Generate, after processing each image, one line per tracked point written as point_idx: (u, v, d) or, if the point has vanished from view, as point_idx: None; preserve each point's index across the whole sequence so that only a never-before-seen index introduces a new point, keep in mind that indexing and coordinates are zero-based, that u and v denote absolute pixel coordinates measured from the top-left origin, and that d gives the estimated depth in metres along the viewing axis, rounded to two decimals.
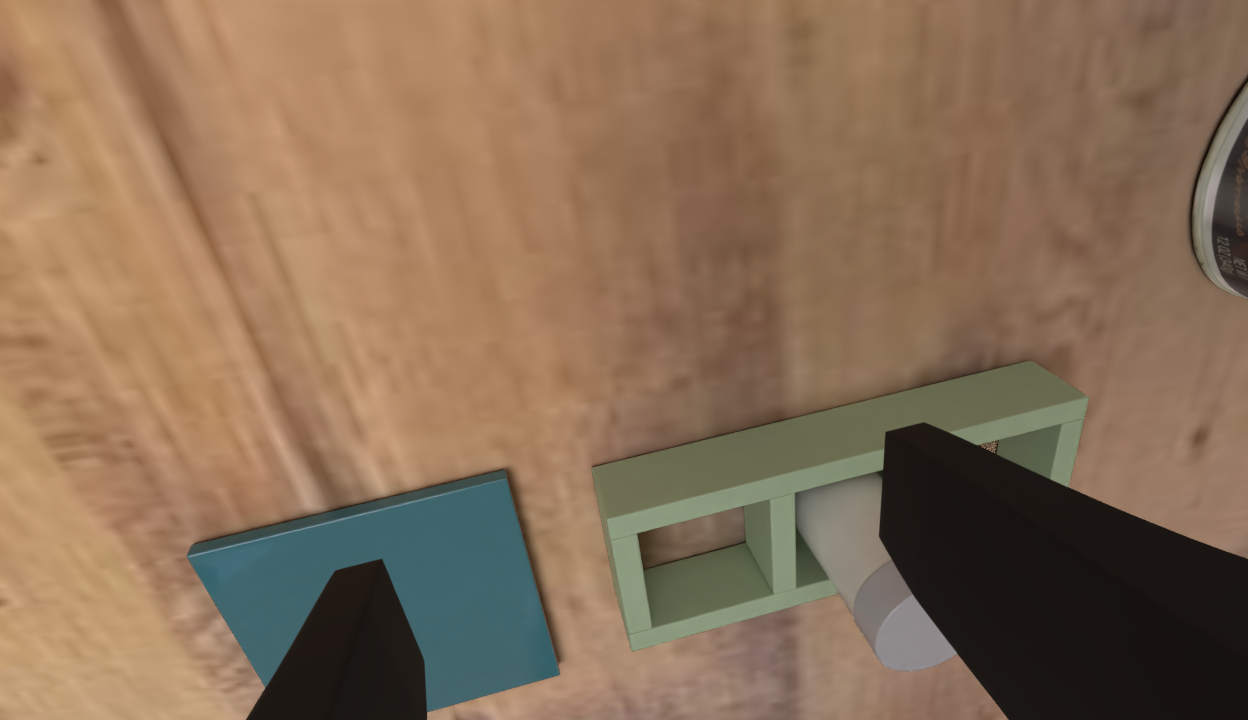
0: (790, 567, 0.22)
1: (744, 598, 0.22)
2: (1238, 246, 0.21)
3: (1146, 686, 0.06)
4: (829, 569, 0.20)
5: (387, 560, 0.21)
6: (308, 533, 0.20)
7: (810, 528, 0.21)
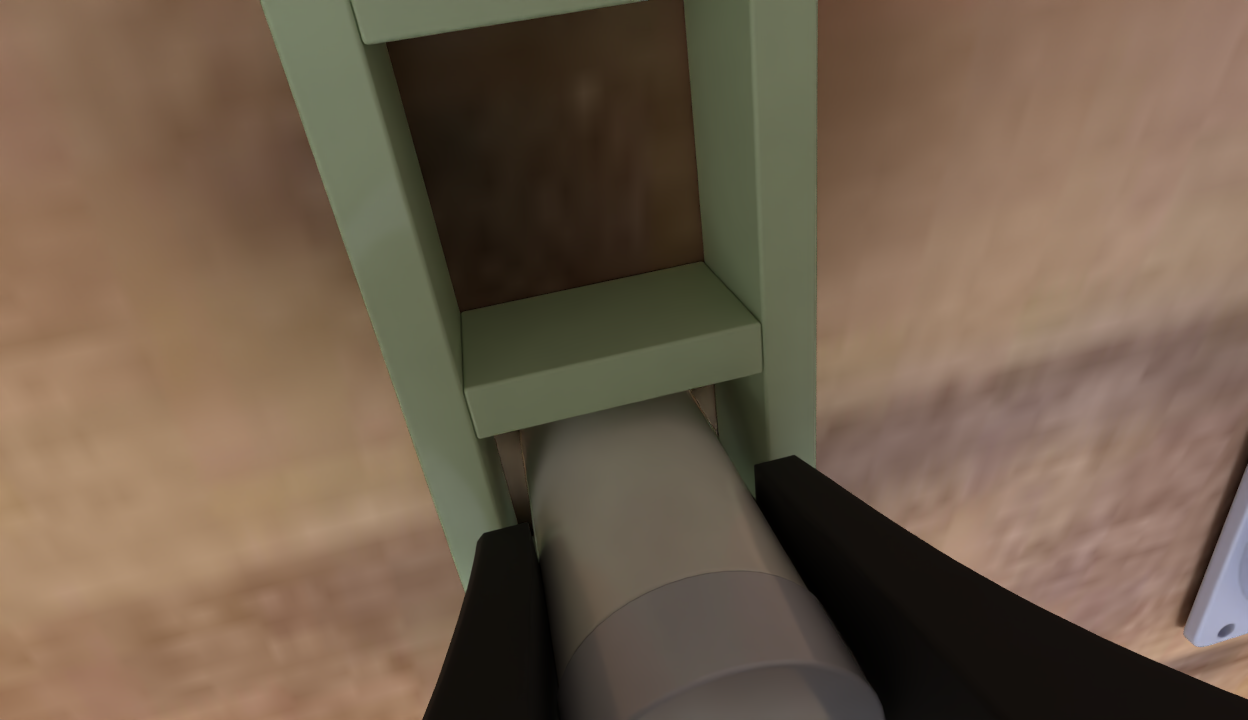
0: None
1: None
2: None
3: None
4: None
5: None
6: None
7: None
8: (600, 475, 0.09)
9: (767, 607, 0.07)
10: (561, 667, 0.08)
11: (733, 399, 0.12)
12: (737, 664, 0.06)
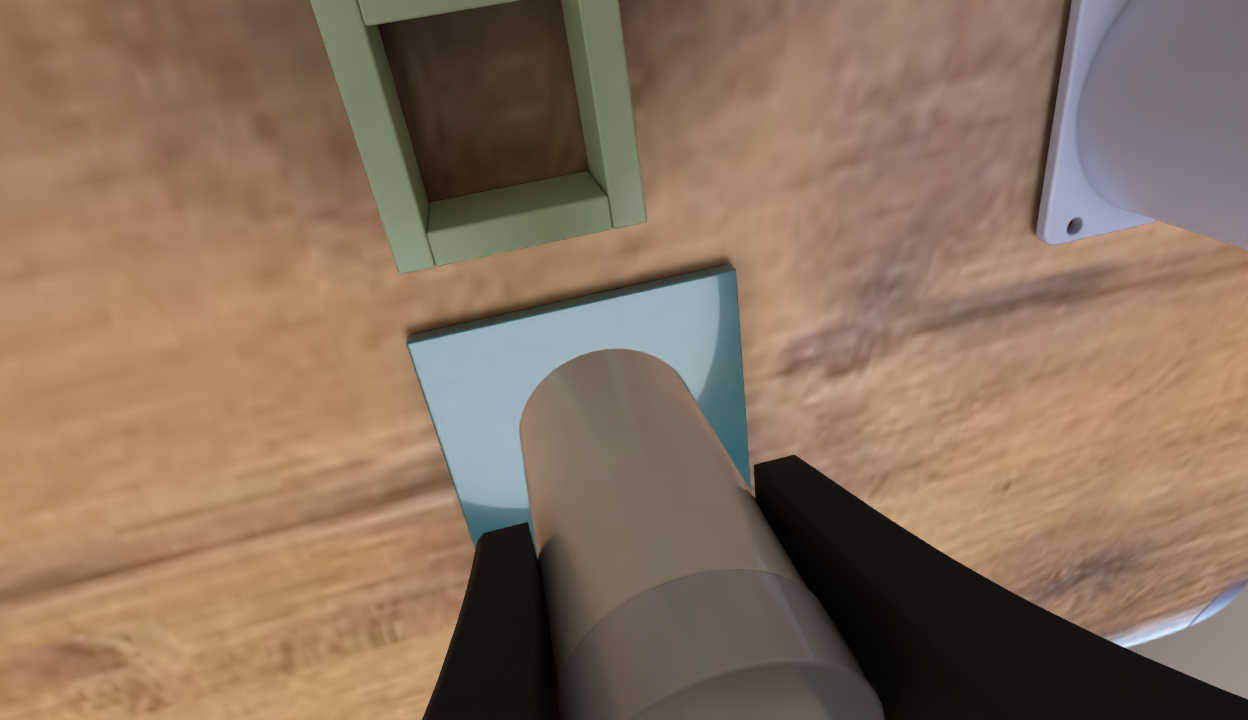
0: None
1: (583, 42, 0.14)
2: None
3: None
4: None
5: (512, 449, 0.20)
6: (470, 509, 0.21)
7: None
8: (599, 475, 0.09)
9: (766, 606, 0.07)
10: (560, 666, 0.08)
11: None
12: (736, 661, 0.06)
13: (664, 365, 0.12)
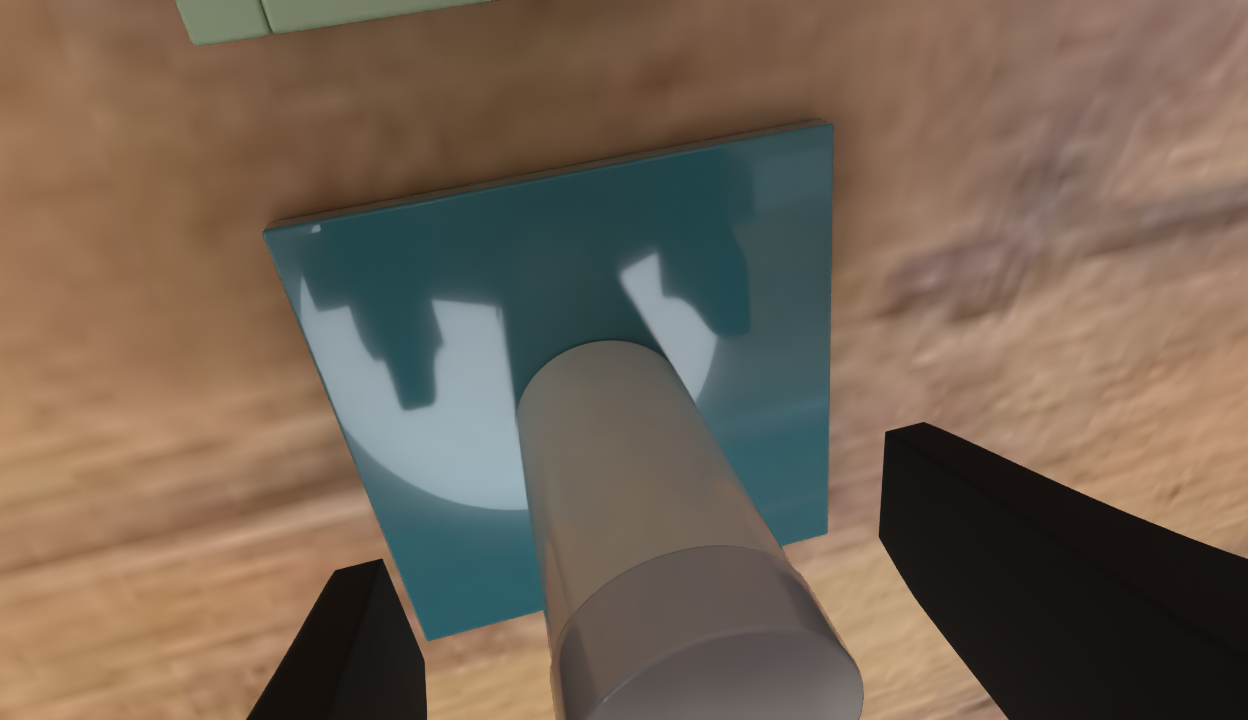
0: None
1: None
2: None
3: (1145, 686, 0.06)
4: None
5: (458, 426, 0.12)
6: (392, 523, 0.13)
7: None
8: (593, 459, 0.09)
9: (750, 579, 0.07)
10: (554, 639, 0.08)
11: None
12: (719, 629, 0.07)
13: (657, 356, 0.12)
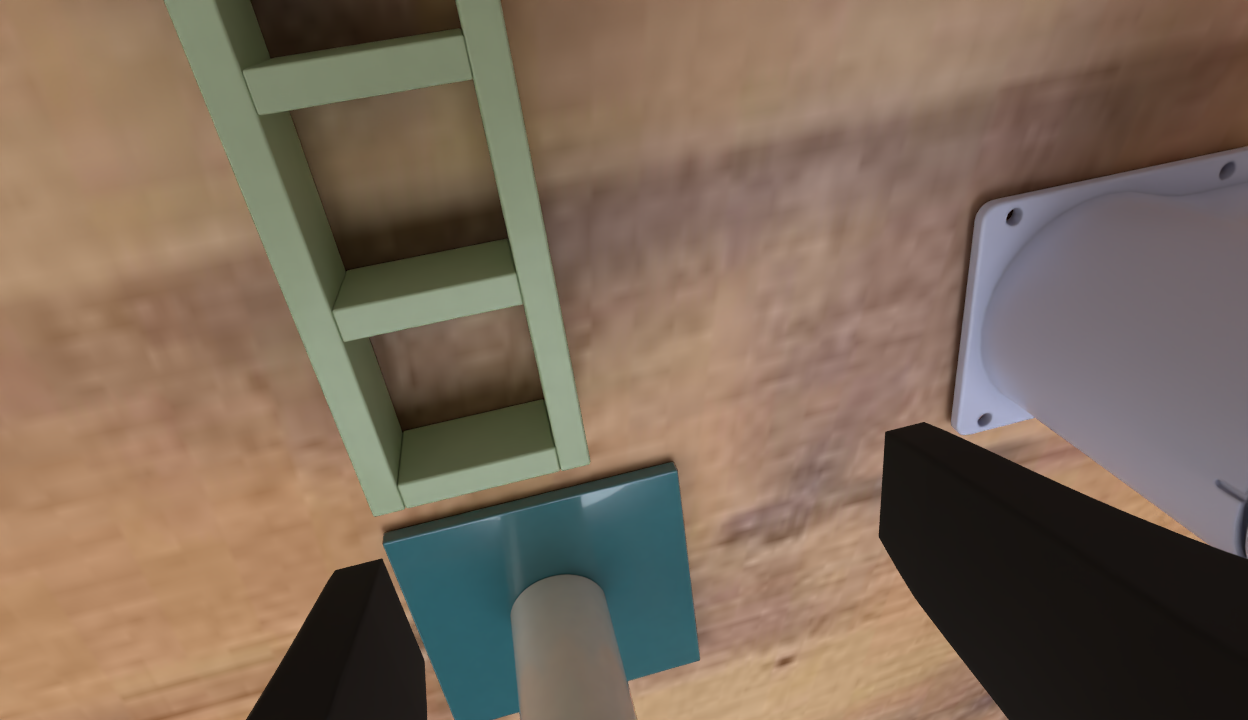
0: (471, 291, 0.15)
1: (531, 337, 0.16)
2: None
3: (1146, 686, 0.06)
4: None
5: (478, 620, 0.23)
6: (441, 669, 0.23)
7: None
8: (546, 666, 0.20)
9: None
10: None
11: (485, 134, 0.15)
12: None
13: (587, 583, 0.22)
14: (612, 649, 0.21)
